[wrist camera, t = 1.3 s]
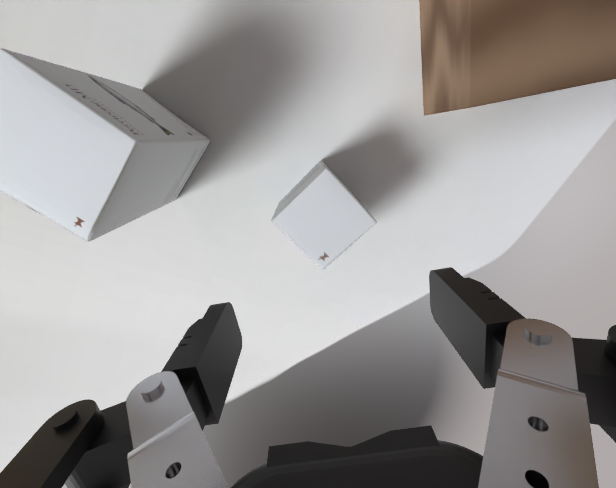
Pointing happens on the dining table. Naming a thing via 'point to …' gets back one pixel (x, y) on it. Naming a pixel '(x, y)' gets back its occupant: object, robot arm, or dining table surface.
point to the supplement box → (88, 146)
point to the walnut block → (512, 49)
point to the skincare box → (322, 216)
